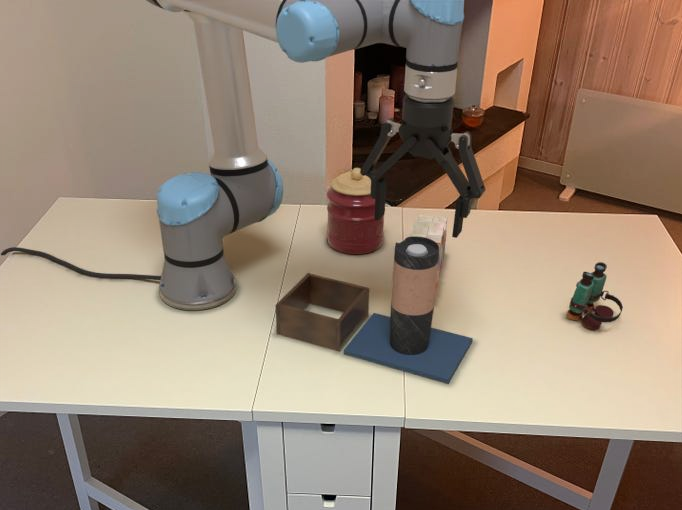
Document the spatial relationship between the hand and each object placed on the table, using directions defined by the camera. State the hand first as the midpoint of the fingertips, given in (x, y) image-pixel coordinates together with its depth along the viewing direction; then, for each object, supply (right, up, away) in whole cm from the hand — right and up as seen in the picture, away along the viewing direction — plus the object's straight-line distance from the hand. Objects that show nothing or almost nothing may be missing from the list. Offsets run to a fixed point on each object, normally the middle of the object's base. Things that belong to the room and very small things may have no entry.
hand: (417, 225), depth 125 cm
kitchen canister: (-9, +5, +48) cm, 49 cm away
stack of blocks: (+5, -5, +36) cm, 36 cm away
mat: (0, -20, +14) cm, 25 cm away
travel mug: (0, -19, +14) cm, 24 cm away
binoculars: (+37, -14, +23) cm, 46 cm away
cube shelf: (-16, -16, +20) cm, 30 cm away
